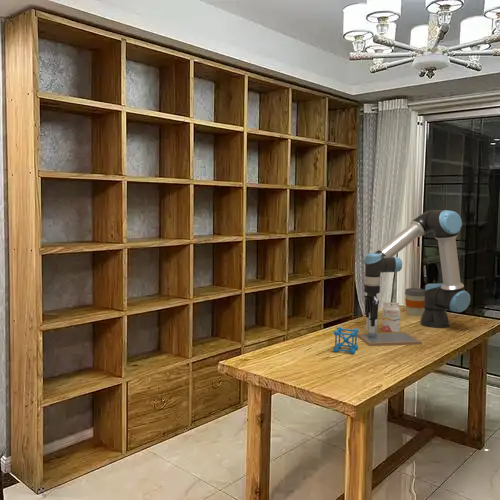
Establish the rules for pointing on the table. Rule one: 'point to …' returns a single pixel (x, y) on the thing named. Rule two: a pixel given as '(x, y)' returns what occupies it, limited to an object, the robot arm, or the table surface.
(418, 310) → the reusable coffee cup
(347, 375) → the table surface
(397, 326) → the ink cartridge box
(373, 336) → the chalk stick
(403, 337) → the slate board
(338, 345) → the molecular structure
